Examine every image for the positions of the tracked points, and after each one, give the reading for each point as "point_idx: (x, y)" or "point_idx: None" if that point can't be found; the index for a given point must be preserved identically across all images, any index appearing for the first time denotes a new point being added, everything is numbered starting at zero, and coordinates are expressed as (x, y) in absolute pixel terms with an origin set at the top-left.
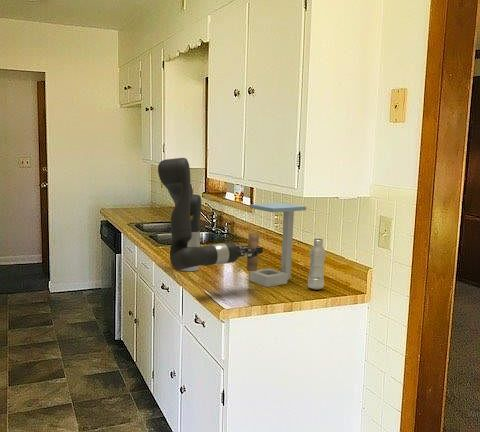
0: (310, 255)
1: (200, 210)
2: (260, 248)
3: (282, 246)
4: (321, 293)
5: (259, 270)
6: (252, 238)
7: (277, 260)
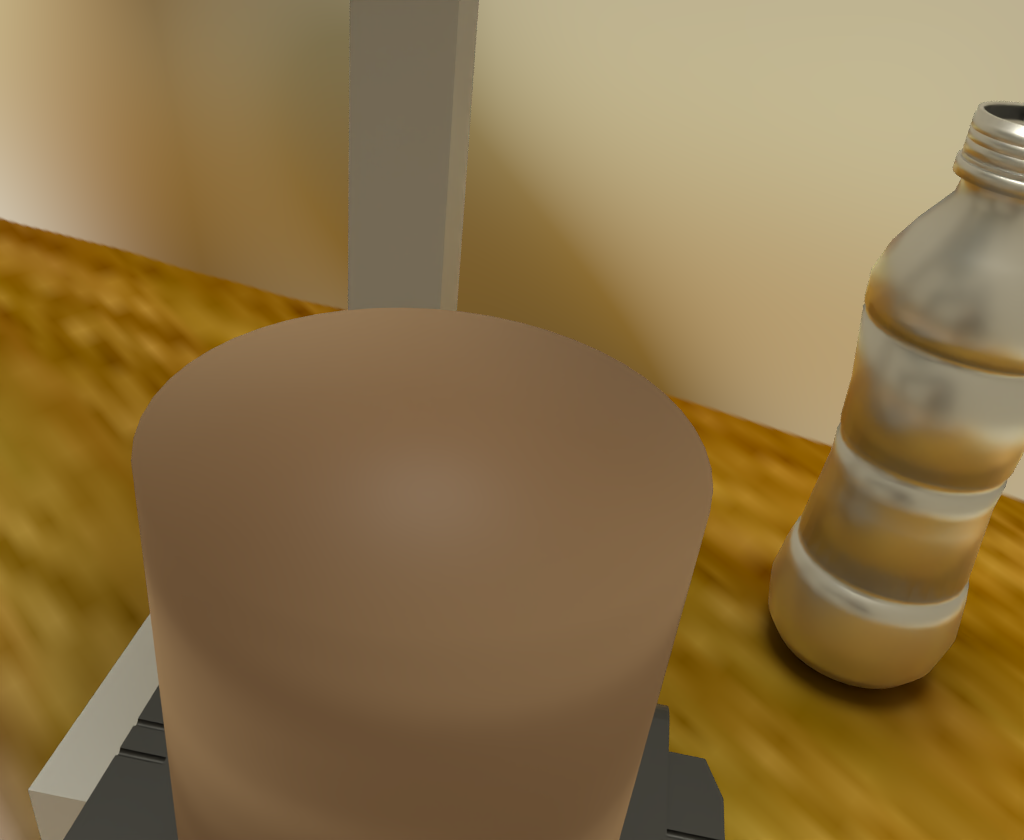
0: (955, 364)
1: None
2: (664, 791)
3: (357, 244)
4: (1008, 722)
5: (148, 670)
6: (551, 759)
7: (21, 259)
